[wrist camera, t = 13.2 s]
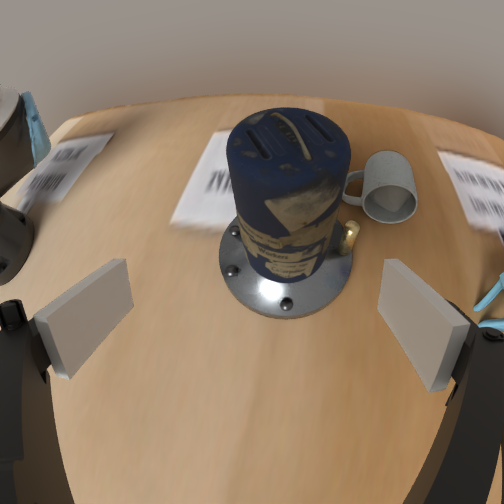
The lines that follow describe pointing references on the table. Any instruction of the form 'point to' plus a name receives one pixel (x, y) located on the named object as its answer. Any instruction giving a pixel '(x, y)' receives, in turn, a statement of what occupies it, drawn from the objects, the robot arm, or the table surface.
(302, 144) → the canister
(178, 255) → the table surface
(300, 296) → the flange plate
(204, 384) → the table surface
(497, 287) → the light blue stand
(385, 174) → the ceramic mug
